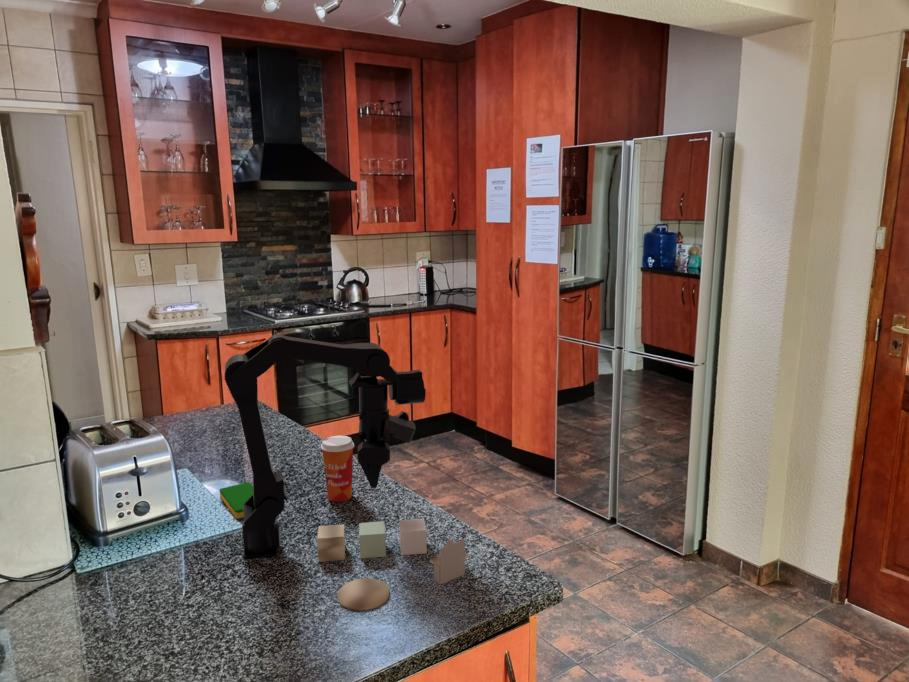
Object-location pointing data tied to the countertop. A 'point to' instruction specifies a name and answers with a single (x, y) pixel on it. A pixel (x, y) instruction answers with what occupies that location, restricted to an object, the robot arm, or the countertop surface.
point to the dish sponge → (236, 497)
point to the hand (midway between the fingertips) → (373, 478)
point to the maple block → (331, 543)
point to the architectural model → (450, 562)
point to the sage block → (372, 539)
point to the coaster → (363, 594)
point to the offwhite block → (412, 536)
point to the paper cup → (338, 467)
